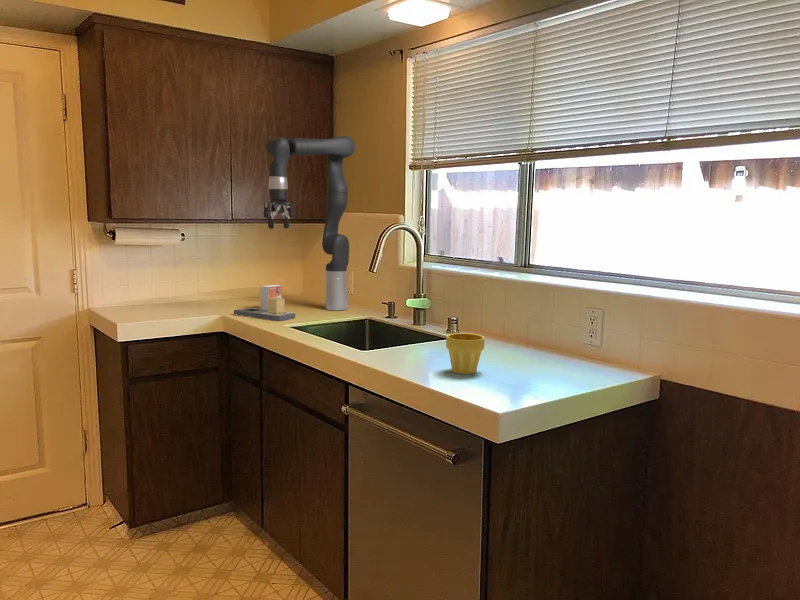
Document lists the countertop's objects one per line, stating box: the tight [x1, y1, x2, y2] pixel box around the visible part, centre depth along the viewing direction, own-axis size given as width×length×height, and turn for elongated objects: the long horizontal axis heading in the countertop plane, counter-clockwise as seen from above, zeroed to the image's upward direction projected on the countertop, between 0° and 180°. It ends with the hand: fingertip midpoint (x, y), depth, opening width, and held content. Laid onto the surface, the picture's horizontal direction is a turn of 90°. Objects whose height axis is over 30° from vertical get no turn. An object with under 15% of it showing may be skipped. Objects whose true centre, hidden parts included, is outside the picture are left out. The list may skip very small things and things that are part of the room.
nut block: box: [268, 297, 286, 314], centre depth 259 cm, size 4×4×8 cm
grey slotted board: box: [233, 307, 296, 322], centre depth 264 cm, size 9×26×2 cm, turn 56°
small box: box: [259, 284, 283, 310], centre depth 283 cm, size 8×6×10 cm
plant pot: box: [445, 332, 486, 375], centre depth 176 cm, size 10×10×10 cm
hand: (278, 228), depth 264 cm, fingers open, 8 cm apart
